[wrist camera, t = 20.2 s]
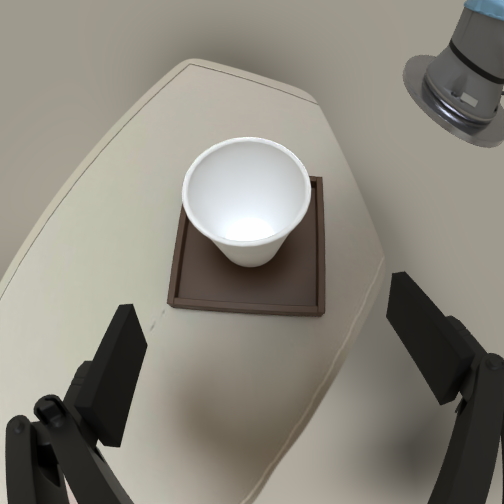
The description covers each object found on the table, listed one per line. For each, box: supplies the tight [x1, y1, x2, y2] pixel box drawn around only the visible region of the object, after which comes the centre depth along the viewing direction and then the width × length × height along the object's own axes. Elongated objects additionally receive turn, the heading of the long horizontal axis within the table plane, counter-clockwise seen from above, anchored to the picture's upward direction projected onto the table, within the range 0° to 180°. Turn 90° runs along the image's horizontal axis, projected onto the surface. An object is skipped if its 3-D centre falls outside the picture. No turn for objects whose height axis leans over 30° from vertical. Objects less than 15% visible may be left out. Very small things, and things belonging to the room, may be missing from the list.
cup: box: [182, 137, 311, 267], centre depth 29 cm, size 10×10×11 cm
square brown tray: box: [167, 176, 325, 317], centre depth 34 cm, size 15×15×2 cm
